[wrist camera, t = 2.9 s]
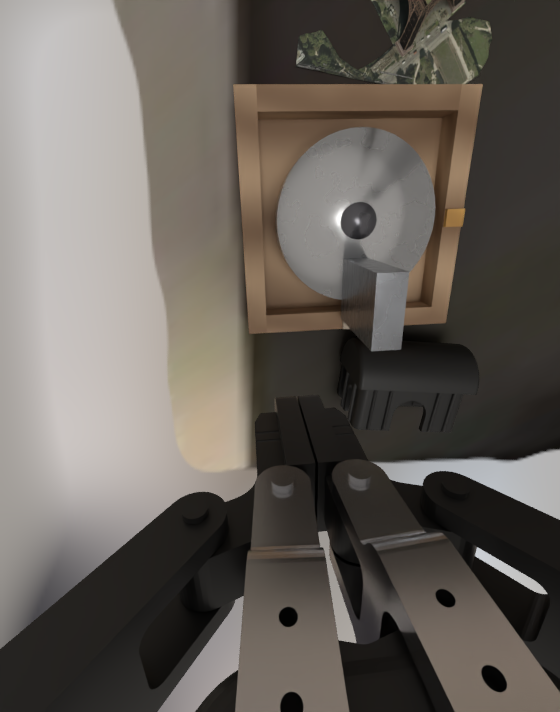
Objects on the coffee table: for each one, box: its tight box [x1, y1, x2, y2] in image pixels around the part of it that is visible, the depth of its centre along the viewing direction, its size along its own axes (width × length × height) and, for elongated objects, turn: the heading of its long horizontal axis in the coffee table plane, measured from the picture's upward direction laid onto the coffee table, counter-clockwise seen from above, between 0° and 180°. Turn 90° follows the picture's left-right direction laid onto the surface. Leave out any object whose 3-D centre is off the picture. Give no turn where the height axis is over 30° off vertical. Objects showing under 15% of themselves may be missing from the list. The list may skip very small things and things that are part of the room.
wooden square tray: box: [233, 84, 483, 334], centre depth 27 cm, size 16×16×4 cm
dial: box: [275, 127, 435, 351], centre depth 22 cm, size 13×11×9 cm
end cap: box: [337, 338, 479, 432], centre depth 31 cm, size 10×7×7 cm
